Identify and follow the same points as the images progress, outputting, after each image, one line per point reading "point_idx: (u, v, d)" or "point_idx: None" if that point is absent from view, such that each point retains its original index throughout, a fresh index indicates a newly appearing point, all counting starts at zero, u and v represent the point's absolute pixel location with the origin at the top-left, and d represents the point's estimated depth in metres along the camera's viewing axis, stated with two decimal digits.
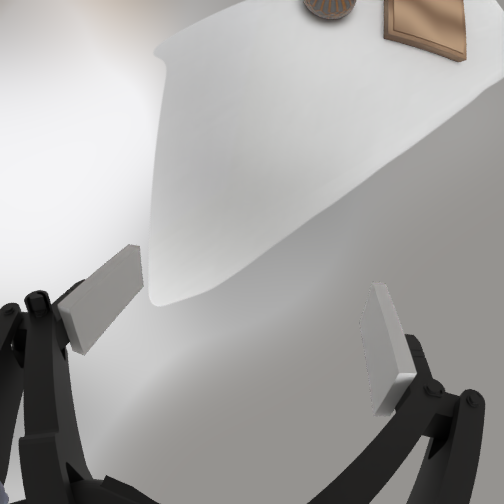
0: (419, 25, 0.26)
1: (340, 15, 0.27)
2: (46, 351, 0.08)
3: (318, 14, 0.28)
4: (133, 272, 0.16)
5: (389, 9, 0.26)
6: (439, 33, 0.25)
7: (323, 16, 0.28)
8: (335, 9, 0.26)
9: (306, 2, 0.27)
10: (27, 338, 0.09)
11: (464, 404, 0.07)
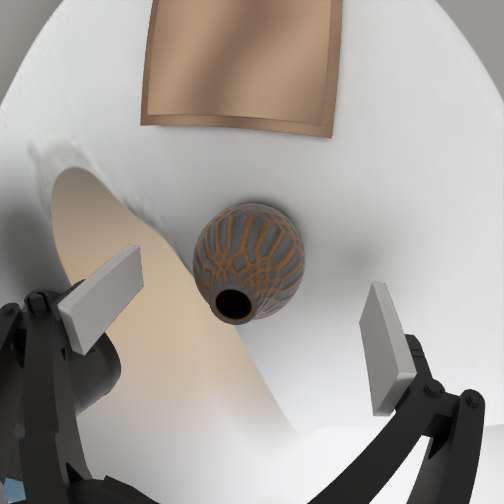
0: (293, 61, 0.14)
1: (302, 244, 0.18)
2: (46, 350, 0.08)
3: None
4: (133, 272, 0.16)
5: (263, 127, 0.17)
6: (300, 16, 0.13)
7: None
8: (298, 269, 0.17)
9: None
10: (27, 338, 0.09)
11: (464, 404, 0.07)
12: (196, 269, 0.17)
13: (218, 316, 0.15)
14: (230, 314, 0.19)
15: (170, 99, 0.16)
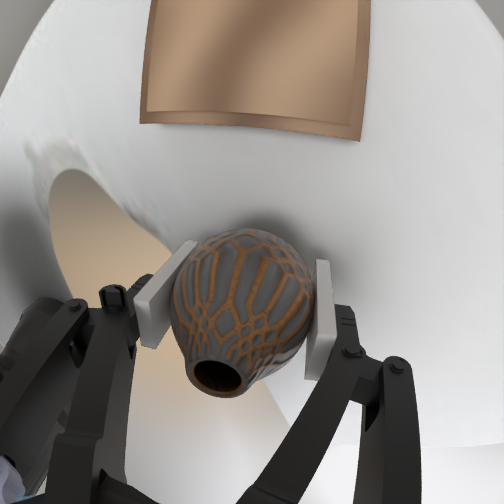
0: (316, 50, 0.12)
1: (311, 286, 0.14)
2: (111, 349, 0.09)
3: None
4: None
5: (280, 126, 0.14)
6: None
7: None
8: (306, 322, 0.13)
9: None
10: (94, 331, 0.10)
11: (388, 372, 0.09)
12: (172, 320, 0.12)
13: (198, 387, 0.11)
14: (218, 369, 0.14)
15: (172, 93, 0.14)
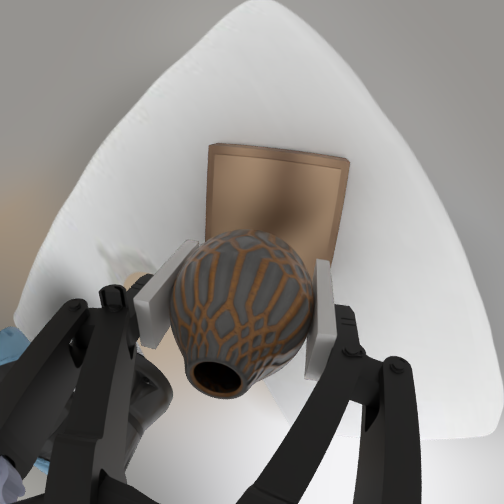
0: (306, 244, 0.27)
1: (311, 287, 0.14)
2: (111, 349, 0.09)
3: None
4: None
5: None
6: (314, 211, 0.25)
7: None
8: (305, 323, 0.13)
9: None
10: (94, 331, 0.10)
11: (388, 372, 0.09)
12: (172, 321, 0.12)
13: (198, 389, 0.11)
14: (218, 369, 0.14)
15: None
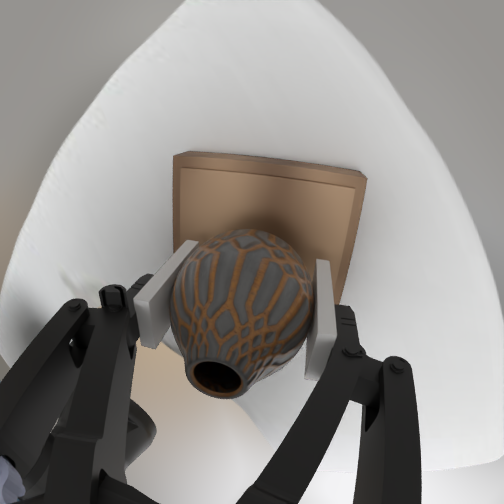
0: None
1: (311, 286, 0.14)
2: (111, 349, 0.09)
3: None
4: None
5: None
6: (316, 246, 0.19)
7: None
8: (306, 323, 0.13)
9: None
10: (94, 331, 0.10)
11: (388, 372, 0.09)
12: (172, 321, 0.12)
13: (198, 388, 0.11)
14: (218, 369, 0.14)
15: None
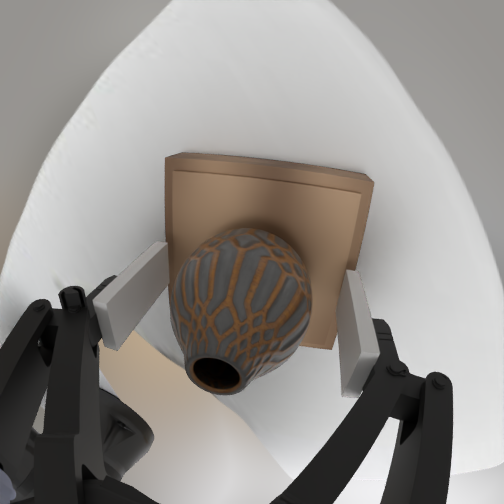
0: None
1: (309, 285, 0.14)
2: (76, 348, 0.09)
3: None
4: (161, 268, 0.17)
5: None
6: (318, 255, 0.17)
7: None
8: (304, 321, 0.13)
9: None
10: (58, 333, 0.09)
11: (430, 387, 0.08)
12: (172, 318, 0.13)
13: (197, 385, 0.11)
14: (218, 367, 0.14)
15: None
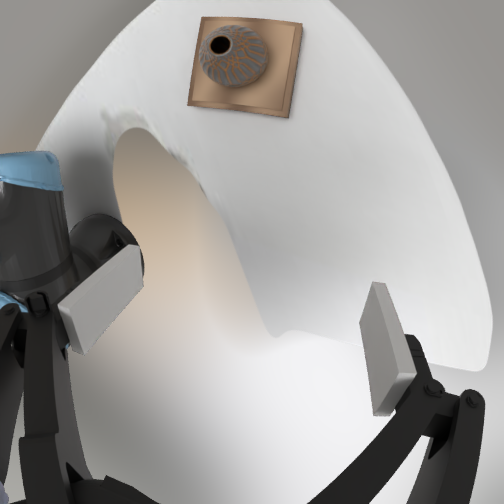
0: (269, 78, 0.29)
1: (265, 45, 0.25)
2: (46, 350, 0.08)
3: (263, 70, 0.27)
4: (133, 272, 0.16)
5: (252, 111, 0.32)
6: (275, 54, 0.28)
7: (266, 65, 0.26)
8: (261, 48, 0.24)
9: (247, 81, 0.26)
10: (27, 338, 0.09)
11: (464, 404, 0.07)
12: (201, 45, 0.23)
13: (210, 52, 0.22)
14: (217, 78, 0.25)
15: (205, 93, 0.31)
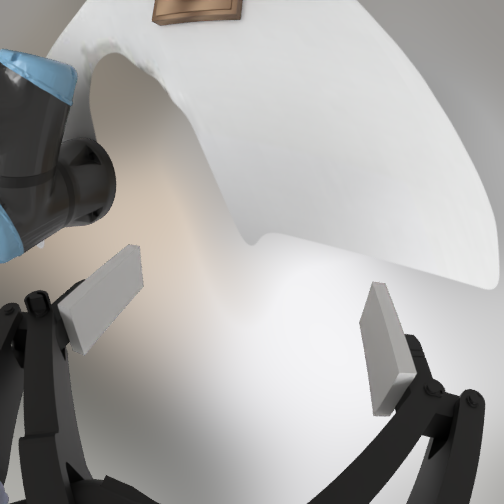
0: None
1: None
2: (46, 351, 0.08)
3: None
4: (133, 272, 0.16)
5: (206, 14, 0.29)
6: None
7: None
8: None
9: None
10: (27, 338, 0.09)
11: (464, 404, 0.07)
12: None
13: None
14: None
15: (166, 8, 0.29)
